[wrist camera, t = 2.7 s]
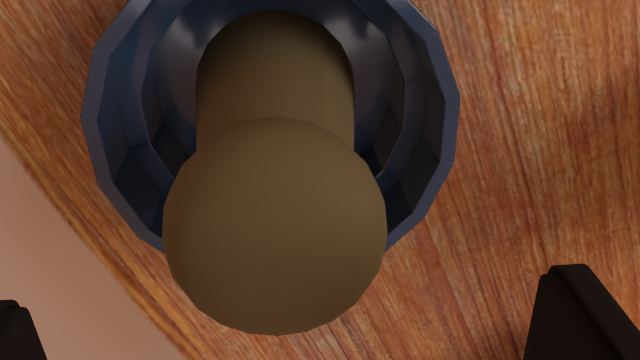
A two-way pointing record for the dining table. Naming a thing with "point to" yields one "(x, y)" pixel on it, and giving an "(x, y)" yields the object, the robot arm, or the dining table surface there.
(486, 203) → the dining table surface
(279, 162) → the pepper shaker
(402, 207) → the blue bowl
